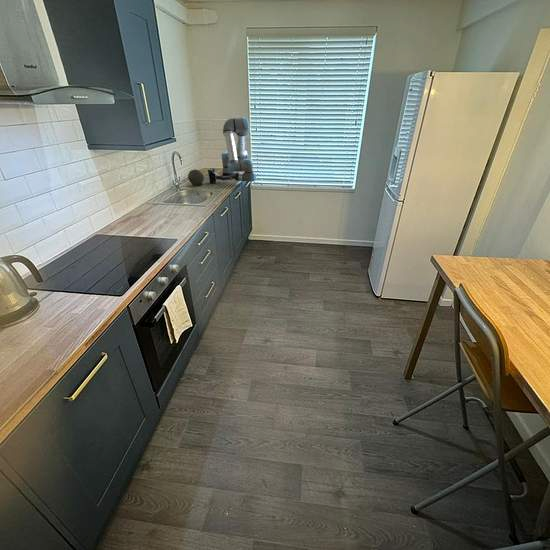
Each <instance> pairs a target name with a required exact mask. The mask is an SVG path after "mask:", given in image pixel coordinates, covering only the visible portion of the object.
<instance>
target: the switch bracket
mask: <svg viewBox="0 0 550 550" xmlns="http://www.w3.org/2000/svg"><path fill="white" fill-rule="evenodd" d="M211 169H212V170H211ZM207 172H208V181H207V182H205V184H206V185H209V184H210V185H217V184H219V183H220V182H221V180H217V179H216V175H215V174H213V172H214V173H216V170H215V168H210V169H207Z"/></svg>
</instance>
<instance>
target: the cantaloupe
mask: <svg viewBox="0 0 550 550" xmlns="http://www.w3.org/2000/svg"><path fill="white" fill-rule="evenodd" d="M204 177H205V176H204V174H203V173H202V171H200V170H199V169H192V170H190V171H189V172H188V174H187V179H188V181H189V183H190V184H191V185H193V186H194V187H195V186H196V187H198V186H201V185H202V184H203V183H204V179H205V178H204Z"/></svg>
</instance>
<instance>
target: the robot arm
mask: <svg viewBox="0 0 550 550" xmlns="http://www.w3.org/2000/svg"><path fill="white" fill-rule="evenodd" d="M250 131H251V130H250V124H249V119H248V118H247V117H233V118H229V119H227V120H226V121H225V122H224V124H223V128H222V135H223V137H224V139H225V144H226V151H223V152H222V153H221V163H222V171H221V176H216V175H215V176H216V180H221V181H232V180H235V181H236V182H255V181H256V180H257V174H256V173H255V172H254V168H253V160H252V159H251V158H249V153H248V151H247V150H246V139H247V137H246V136H247V135H248V133H249V132H250ZM235 134H236V143H235V138H234V135H235Z"/></svg>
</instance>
